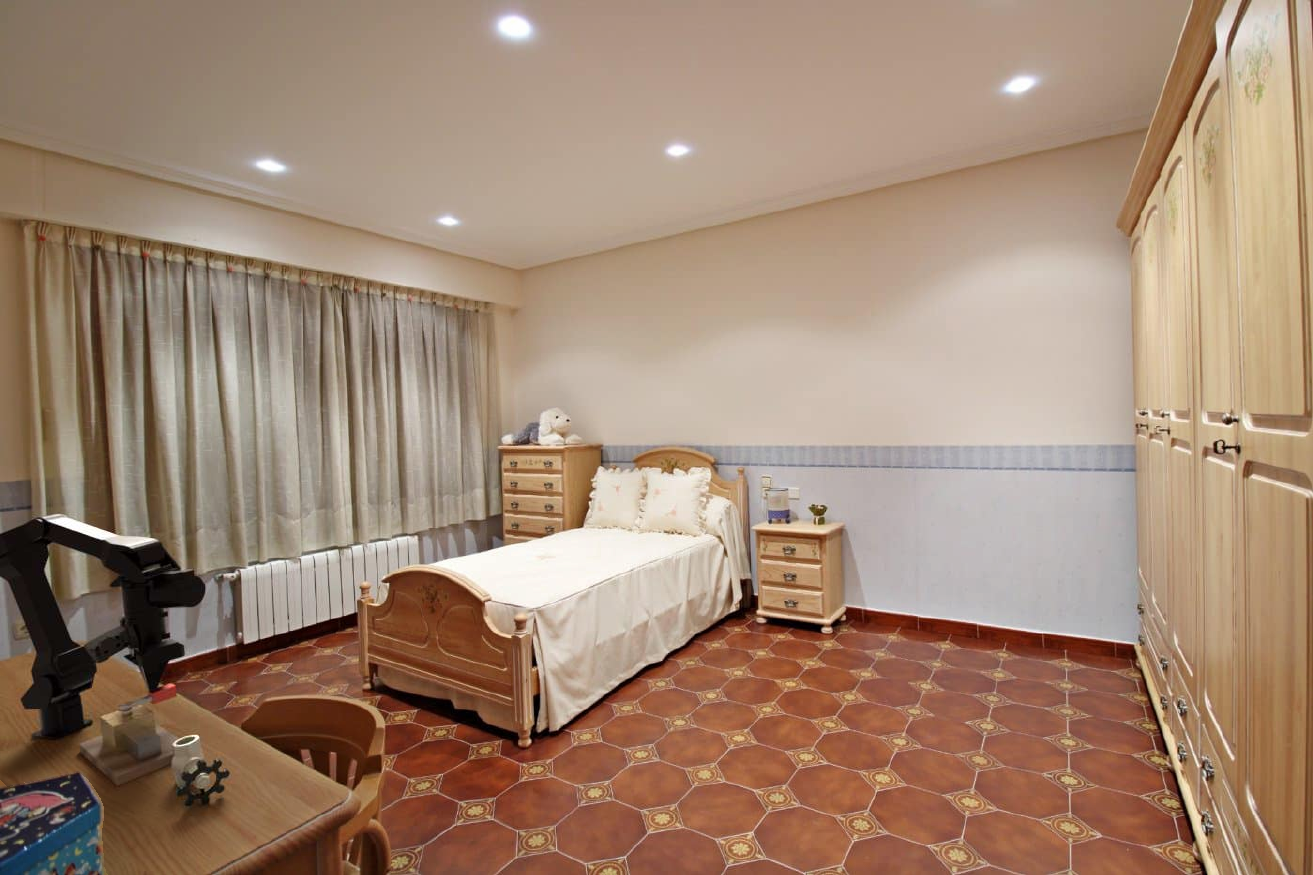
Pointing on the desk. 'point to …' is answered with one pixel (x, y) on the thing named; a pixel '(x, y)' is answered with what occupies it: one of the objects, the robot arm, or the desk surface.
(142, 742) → the beige stepped block
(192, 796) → the valve
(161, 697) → the lever
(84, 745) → the valve plank
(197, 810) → the desk surface
